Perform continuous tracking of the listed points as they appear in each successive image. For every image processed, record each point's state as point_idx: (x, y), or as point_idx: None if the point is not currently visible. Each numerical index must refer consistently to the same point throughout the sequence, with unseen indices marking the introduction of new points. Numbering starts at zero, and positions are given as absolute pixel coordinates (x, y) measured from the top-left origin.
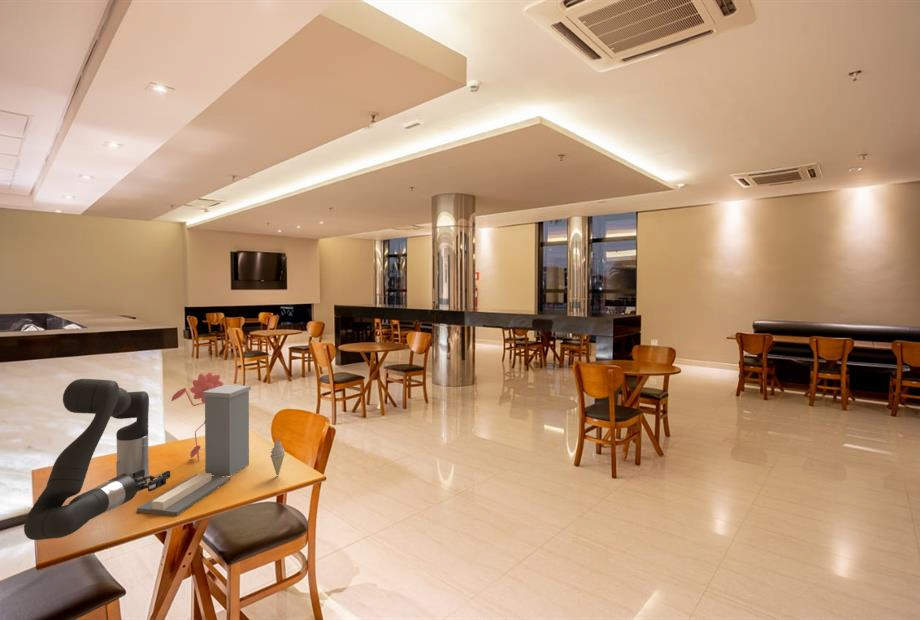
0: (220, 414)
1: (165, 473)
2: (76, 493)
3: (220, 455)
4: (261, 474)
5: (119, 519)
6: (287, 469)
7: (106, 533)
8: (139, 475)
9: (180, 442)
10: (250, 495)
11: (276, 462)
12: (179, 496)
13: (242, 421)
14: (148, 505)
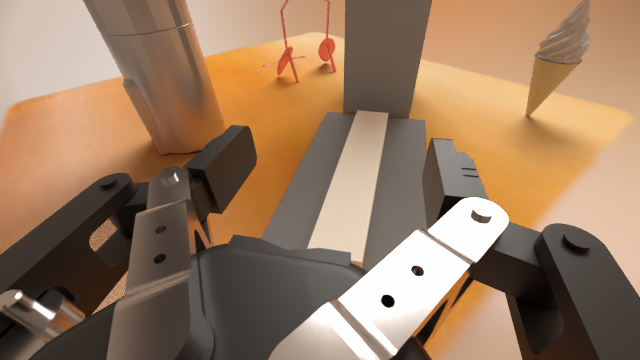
0: None
1: (457, 169)
2: None
3: (390, 61)
4: (476, 110)
5: None
6: (518, 97)
7: None
8: (234, 170)
9: (237, 51)
10: (564, 186)
11: (559, 78)
12: (372, 205)
13: None
14: (283, 243)
